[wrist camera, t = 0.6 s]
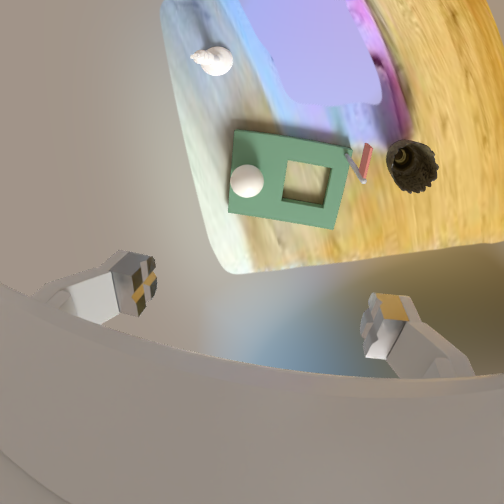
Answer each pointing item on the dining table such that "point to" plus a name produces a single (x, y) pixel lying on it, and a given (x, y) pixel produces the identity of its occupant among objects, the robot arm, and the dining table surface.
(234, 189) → the ball
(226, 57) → the chess piece
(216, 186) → the dining table surface
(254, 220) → the dining table surface
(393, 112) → the dining table surface
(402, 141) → the scalloped clay bowl
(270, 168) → the putting mat
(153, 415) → the robot arm
